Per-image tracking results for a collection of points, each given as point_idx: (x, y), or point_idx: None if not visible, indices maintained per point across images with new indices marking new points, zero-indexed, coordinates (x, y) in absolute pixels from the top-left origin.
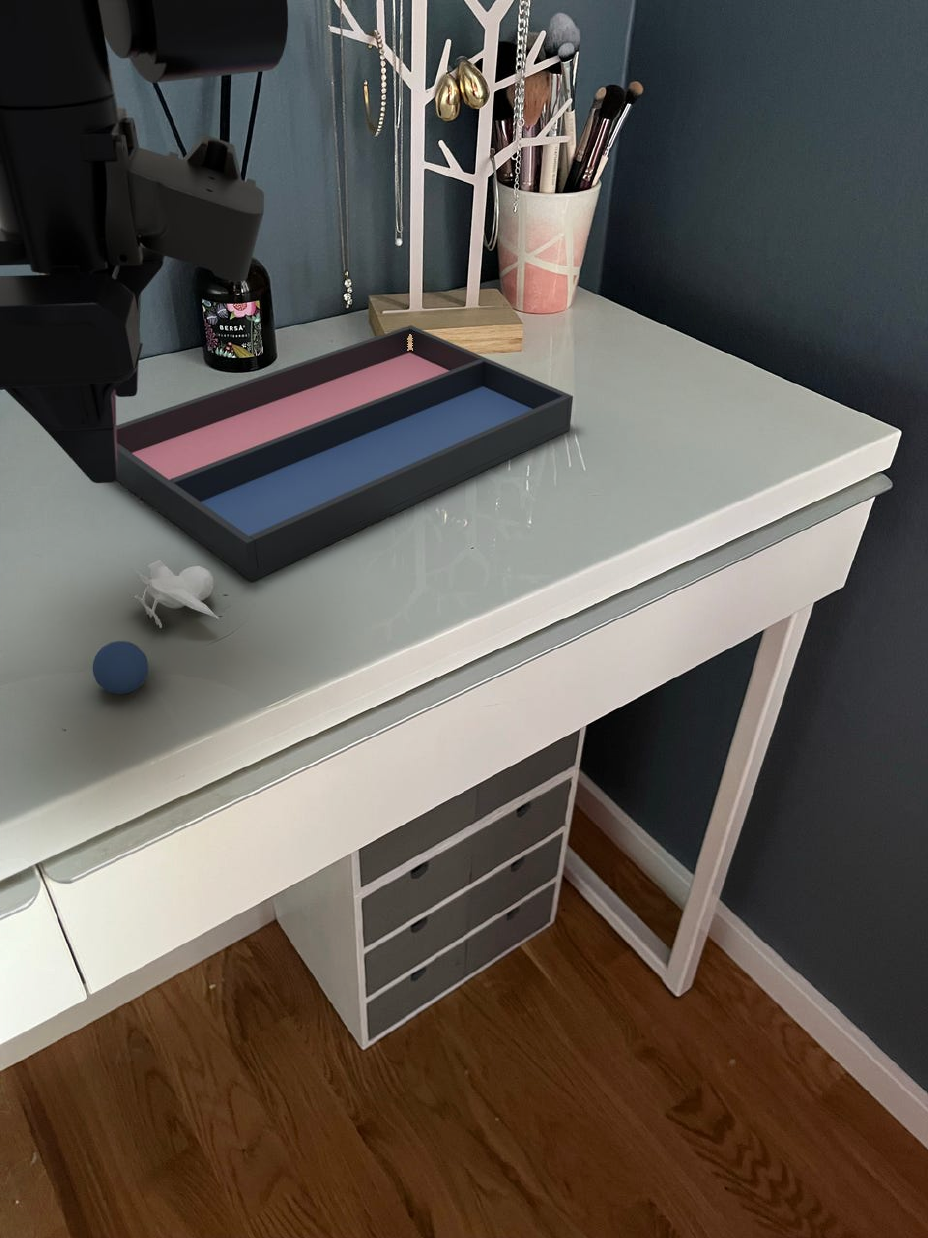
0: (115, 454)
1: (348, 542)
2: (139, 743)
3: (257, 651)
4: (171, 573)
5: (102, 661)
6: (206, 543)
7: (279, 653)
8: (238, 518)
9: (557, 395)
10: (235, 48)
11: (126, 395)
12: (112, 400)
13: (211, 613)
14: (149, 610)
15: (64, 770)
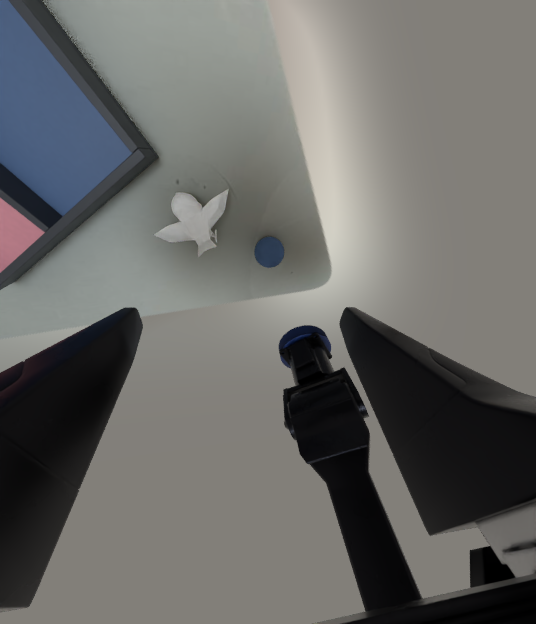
0: (377, 322)
1: (63, 14)
2: (311, 237)
3: (247, 159)
4: (173, 225)
5: (277, 263)
6: (111, 196)
7: (252, 139)
8: (64, 163)
9: None
10: None
11: (139, 317)
12: (481, 379)
13: (222, 194)
14: (216, 239)
15: (317, 269)
